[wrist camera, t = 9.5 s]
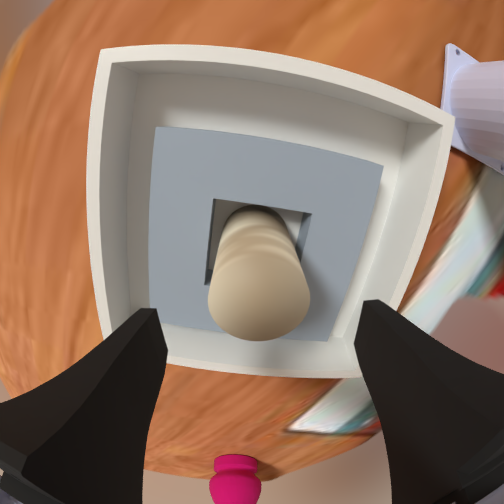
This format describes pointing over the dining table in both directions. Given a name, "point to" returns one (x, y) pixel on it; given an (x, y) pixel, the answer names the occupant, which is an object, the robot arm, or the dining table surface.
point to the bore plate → (261, 193)
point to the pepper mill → (235, 480)
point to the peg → (257, 277)
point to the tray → (268, 126)
